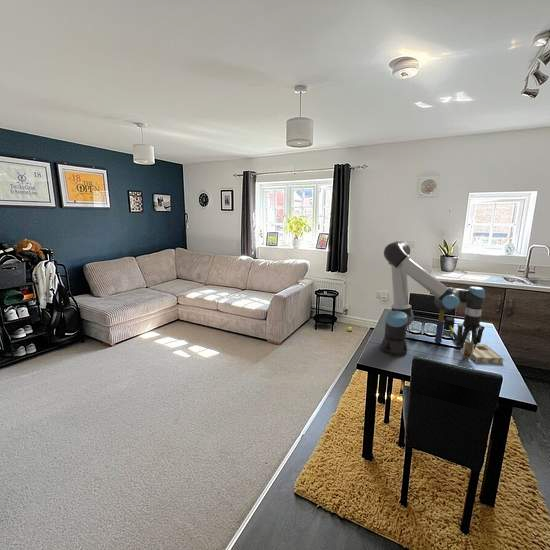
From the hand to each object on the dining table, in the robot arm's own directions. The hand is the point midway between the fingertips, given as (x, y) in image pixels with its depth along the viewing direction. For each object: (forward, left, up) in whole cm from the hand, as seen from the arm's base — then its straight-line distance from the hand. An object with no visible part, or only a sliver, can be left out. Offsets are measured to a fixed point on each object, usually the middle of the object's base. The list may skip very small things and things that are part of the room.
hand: (466, 353), depth 170 cm
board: (+11, +6, -4) cm, 13 cm away
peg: (0, 0, -3) cm, 3 cm away
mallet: (+7, +30, -4) cm, 31 cm away
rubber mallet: (-7, +20, -4) cm, 21 cm away
